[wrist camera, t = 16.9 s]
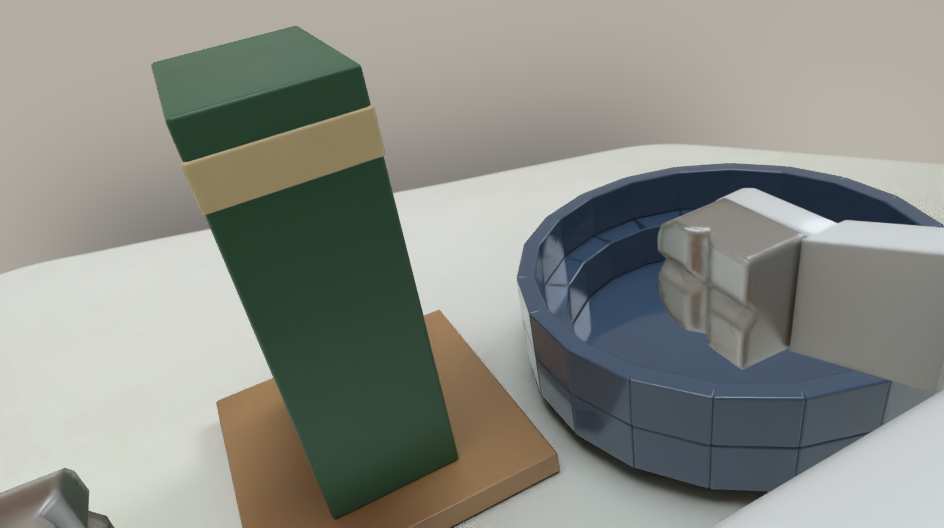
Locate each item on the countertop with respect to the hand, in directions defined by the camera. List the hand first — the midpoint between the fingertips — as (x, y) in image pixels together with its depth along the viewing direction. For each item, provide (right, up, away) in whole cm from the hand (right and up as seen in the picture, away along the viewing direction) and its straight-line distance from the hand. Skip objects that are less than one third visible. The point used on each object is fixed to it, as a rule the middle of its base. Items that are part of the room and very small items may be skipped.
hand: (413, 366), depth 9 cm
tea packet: (-3, -4, +13) cm, 14 cm away
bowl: (+9, -2, +15) cm, 18 cm away
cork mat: (-3, -5, +14) cm, 15 cm away
